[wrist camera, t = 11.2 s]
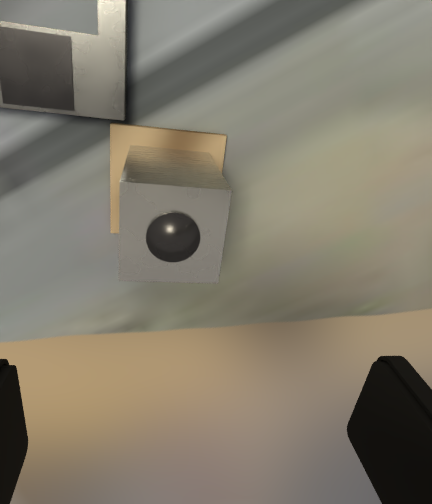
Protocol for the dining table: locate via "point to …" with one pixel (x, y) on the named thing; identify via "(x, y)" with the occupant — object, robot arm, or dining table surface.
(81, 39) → the grey metal plate
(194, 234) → the metal cube with knob
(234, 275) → the dining table surface
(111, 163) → the coaster pad
